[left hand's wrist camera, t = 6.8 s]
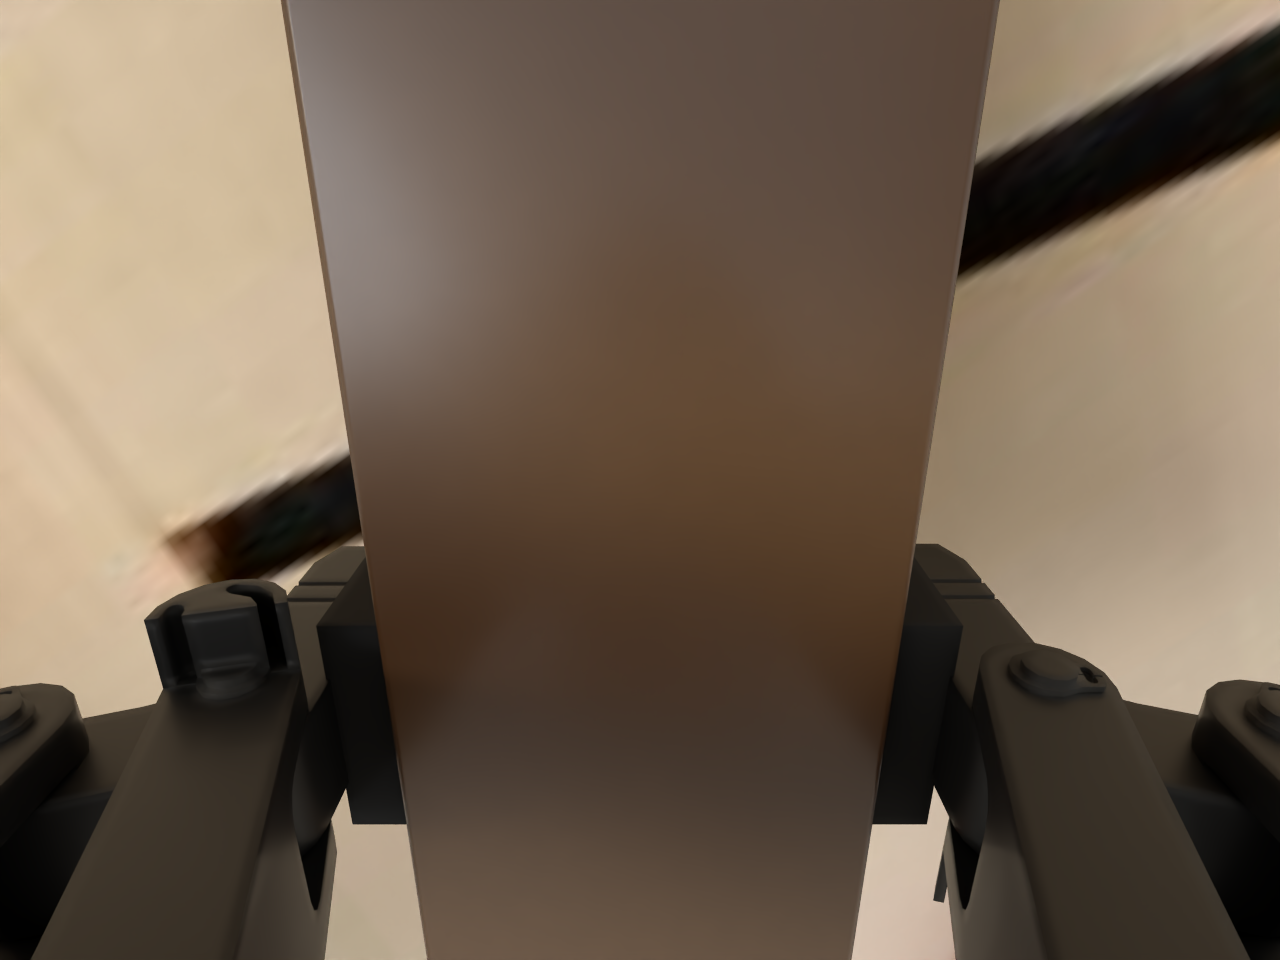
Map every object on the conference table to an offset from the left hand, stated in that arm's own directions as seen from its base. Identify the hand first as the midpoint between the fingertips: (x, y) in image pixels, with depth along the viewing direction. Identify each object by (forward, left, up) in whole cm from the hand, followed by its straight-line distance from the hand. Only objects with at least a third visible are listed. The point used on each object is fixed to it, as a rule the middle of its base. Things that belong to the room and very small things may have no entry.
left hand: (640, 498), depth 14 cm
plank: (+27, +6, -1) cm, 28 cm away
